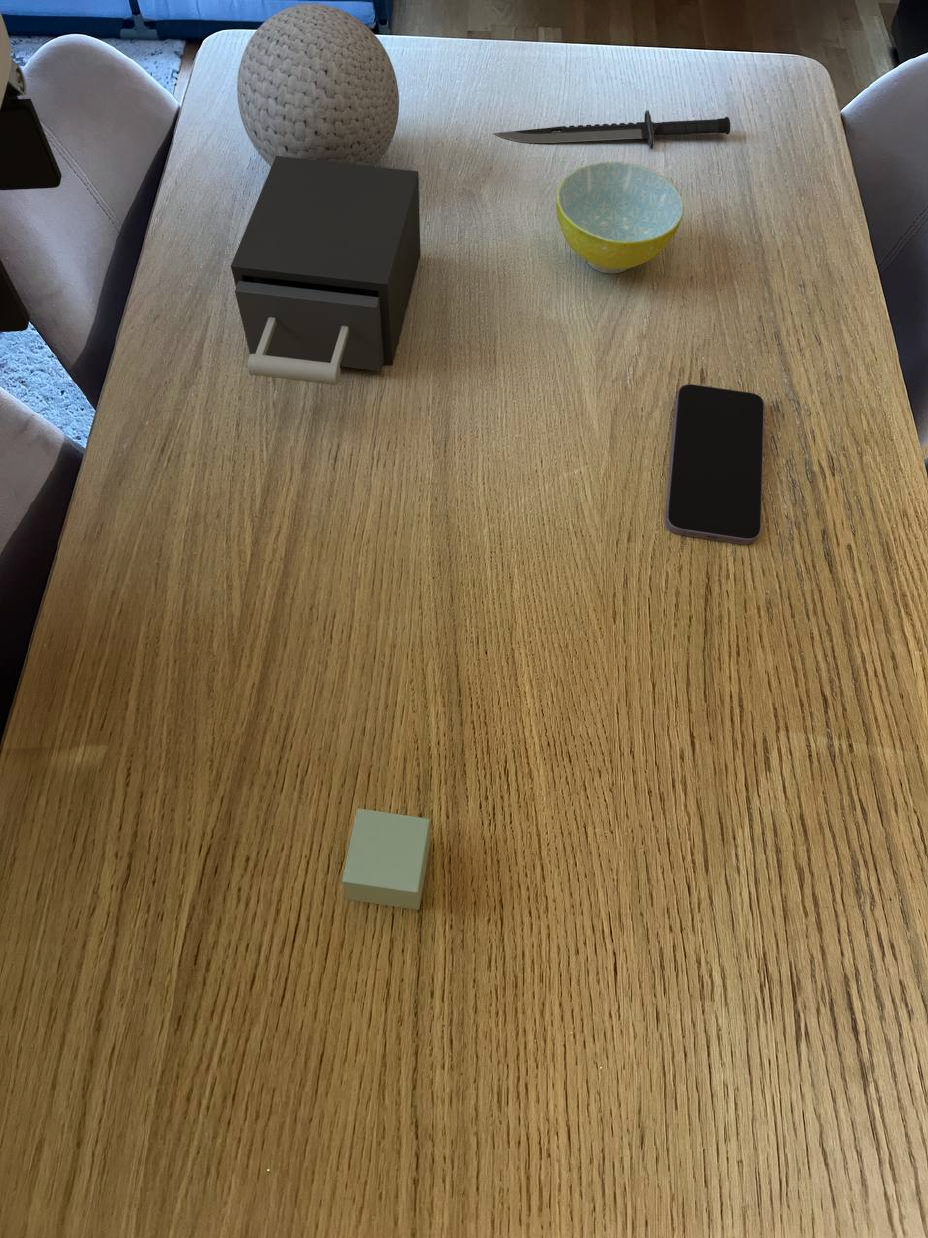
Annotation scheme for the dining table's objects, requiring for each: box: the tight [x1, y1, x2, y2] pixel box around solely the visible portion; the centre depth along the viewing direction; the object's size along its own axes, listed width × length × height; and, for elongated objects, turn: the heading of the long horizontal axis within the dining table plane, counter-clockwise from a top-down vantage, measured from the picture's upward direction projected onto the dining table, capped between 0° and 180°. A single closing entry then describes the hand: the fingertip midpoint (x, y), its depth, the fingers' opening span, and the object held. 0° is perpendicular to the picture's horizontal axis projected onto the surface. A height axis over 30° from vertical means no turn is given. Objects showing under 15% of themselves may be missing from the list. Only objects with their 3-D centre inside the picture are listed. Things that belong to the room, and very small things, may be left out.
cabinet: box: [230, 156, 422, 367], centre depth 79 cm, size 15×13×9 cm
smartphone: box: [664, 383, 765, 545], centre depth 73 cm, size 7×1×15 cm
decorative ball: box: [236, 3, 400, 168], centre depth 85 cm, size 15×15×15 cm
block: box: [341, 807, 432, 911], centre depth 55 cm, size 4×4×4 cm
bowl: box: [556, 161, 685, 275], centre depth 84 cm, size 11×12×6 cm
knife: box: [493, 109, 732, 150], centre depth 95 cm, size 25×2×5 cm
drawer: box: [234, 277, 384, 386], centre depth 76 cm, size 19×11×7 cm, turn 172°
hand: (12, 252), depth 41 cm, fingers open, 9 cm apart
